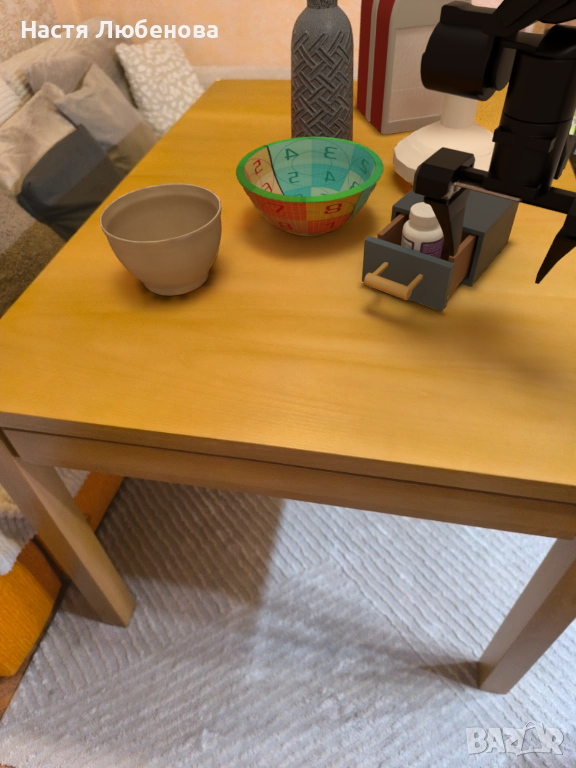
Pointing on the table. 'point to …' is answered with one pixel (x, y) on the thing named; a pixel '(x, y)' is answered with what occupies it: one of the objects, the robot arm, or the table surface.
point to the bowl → (309, 182)
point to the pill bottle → (423, 231)
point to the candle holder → (446, 138)
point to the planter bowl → (165, 235)
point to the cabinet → (476, 225)
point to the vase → (322, 72)
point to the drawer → (415, 266)
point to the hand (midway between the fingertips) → (494, 267)
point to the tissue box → (396, 64)
